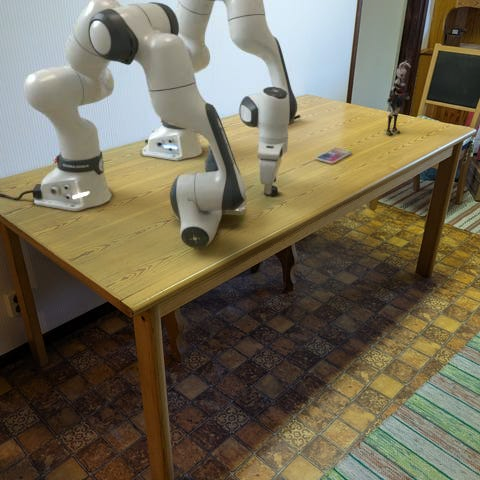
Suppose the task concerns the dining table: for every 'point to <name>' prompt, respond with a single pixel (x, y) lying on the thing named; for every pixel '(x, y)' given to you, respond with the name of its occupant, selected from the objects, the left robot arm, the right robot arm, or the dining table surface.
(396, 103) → the figurine
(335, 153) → the smartphone
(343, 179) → the dining table surface
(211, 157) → the bottle
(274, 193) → the cap
